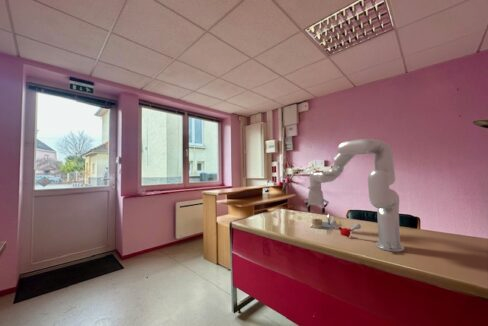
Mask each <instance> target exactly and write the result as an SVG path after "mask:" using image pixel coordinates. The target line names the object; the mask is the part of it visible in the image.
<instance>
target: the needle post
mask: <svg viewBox="0 0 488 326" xmlns="http://www.w3.org/2000/svg"><path fill="white" fill-rule="evenodd" d="M326 216H327V222H328V224H329V225H331V224H330V221H331V220H332V219H331V213H327V215H326Z"/></svg>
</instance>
